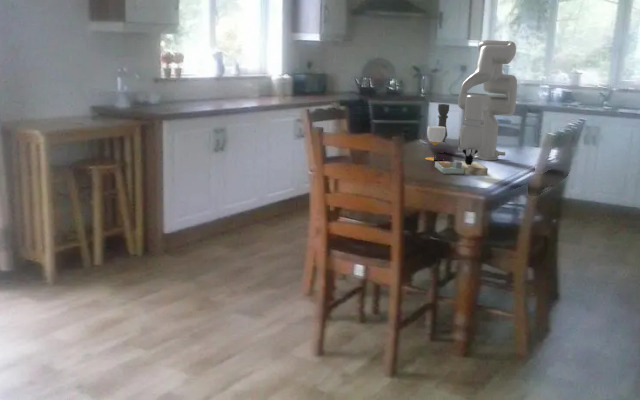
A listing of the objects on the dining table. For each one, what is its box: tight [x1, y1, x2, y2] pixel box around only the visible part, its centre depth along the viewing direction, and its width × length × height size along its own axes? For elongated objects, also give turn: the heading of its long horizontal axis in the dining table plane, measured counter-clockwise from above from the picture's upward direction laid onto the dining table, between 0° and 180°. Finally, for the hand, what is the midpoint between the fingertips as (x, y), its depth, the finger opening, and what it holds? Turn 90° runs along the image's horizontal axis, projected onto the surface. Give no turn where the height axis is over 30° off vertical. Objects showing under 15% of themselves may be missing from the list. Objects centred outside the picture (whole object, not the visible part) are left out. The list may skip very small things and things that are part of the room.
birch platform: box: [460, 160, 488, 176], centre depth 305 cm, size 10×16×3 cm, turn 3°
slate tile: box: [453, 159, 462, 168], centre depth 300 cm, size 4×4×2 cm
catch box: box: [434, 161, 465, 175], centre depth 305 cm, size 10×16×2 cm, turn 3°
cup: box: [424, 125, 447, 162], centre depth 330 cm, size 9×9×16 cm
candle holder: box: [437, 103, 450, 143], centre depth 352 cm, size 6×6×25 cm
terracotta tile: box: [437, 160, 451, 168], centre depth 309 cm, size 4×4×2 cm
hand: (468, 164), depth 300 cm, fingers closed
